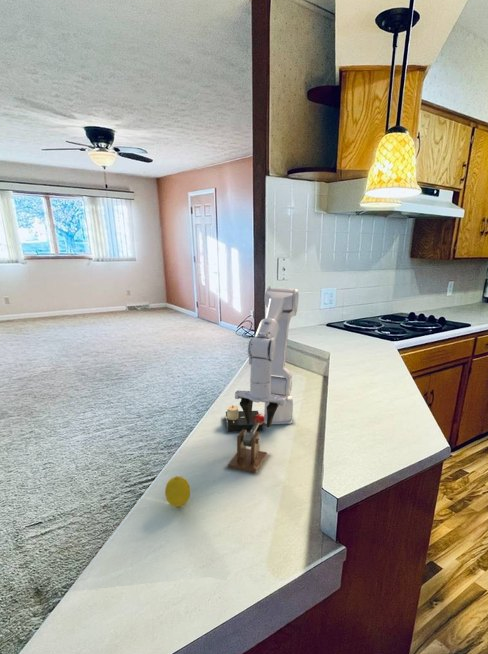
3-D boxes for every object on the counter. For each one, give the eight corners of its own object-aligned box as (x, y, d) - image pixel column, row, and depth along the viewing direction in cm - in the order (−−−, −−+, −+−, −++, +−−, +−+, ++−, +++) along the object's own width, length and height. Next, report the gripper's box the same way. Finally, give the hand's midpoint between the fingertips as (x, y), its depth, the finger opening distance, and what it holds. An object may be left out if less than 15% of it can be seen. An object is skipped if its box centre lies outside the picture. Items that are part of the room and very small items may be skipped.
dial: (238, 420, 133) (239, 409, 132) (227, 420, 132) (227, 409, 131) (237, 415, 136) (238, 404, 135) (226, 415, 136) (227, 405, 134)
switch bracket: (241, 451, 120) (241, 423, 116) (267, 456, 118) (268, 428, 115) (227, 468, 111) (227, 439, 107) (255, 473, 109) (256, 444, 106)
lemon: (184, 515, 91) (183, 485, 88) (161, 511, 92) (159, 481, 89) (194, 501, 96) (193, 472, 93) (172, 497, 97) (171, 468, 94)
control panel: (257, 417, 142) (257, 410, 141) (262, 431, 132) (262, 423, 131) (220, 418, 140) (220, 411, 139) (221, 432, 130) (221, 425, 129)
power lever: (256, 419, 121) (255, 411, 119) (266, 421, 120) (265, 413, 118) (242, 446, 112) (241, 437, 110) (252, 448, 111) (251, 439, 109)
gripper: (230, 381, 112) (230, 425, 117) (281, 388, 109) (279, 434, 114) (240, 373, 118) (239, 416, 124) (288, 380, 115) (285, 424, 120)
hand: (259, 424), depth 119 cm, fingers open, 5 cm apart
